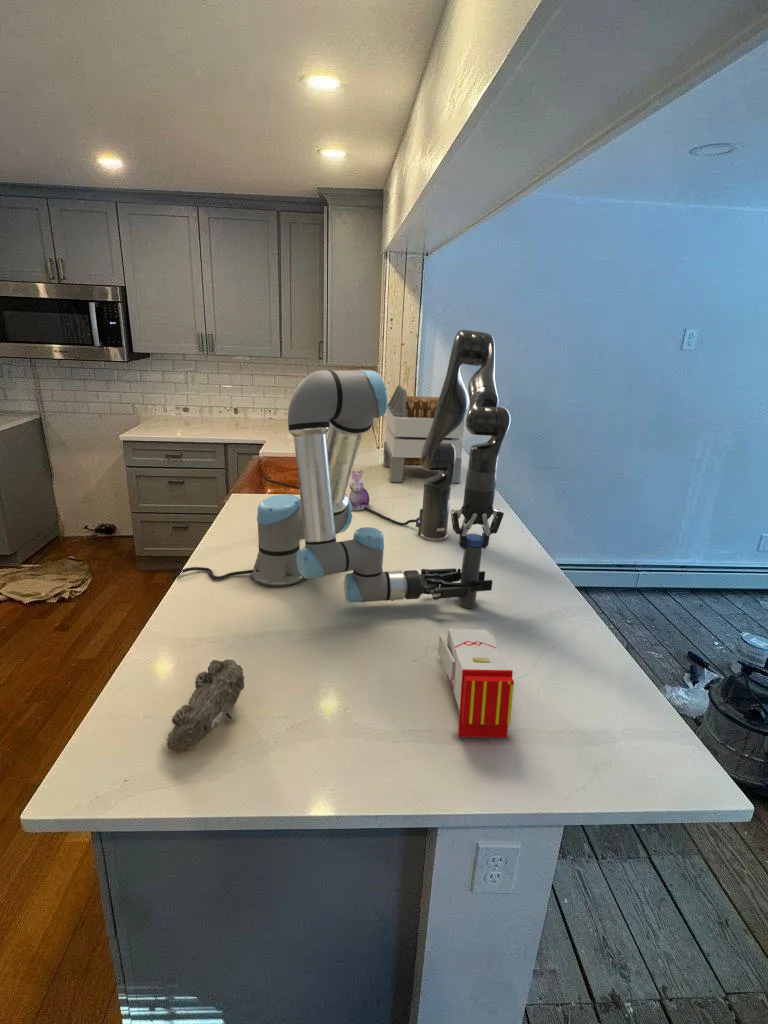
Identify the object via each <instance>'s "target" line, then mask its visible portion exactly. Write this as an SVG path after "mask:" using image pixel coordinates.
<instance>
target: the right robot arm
mask: <svg viewBox="0 0 768 1024" xmlns="http://www.w3.org/2000/svg"><path fill="white" fill-rule="evenodd" d="M495 345H496V344H495V340H494V337H493V335H491V334H490V333H488V332H485V331H484V332H483V331H477V330H472V329H471V330H470V329H460V330H458V331H457V333H456V334H455V336H454V339H453V343H452V347H451V352H450V356H449V360H448V366H447V370H446V374H445V379H444V382H443V385H442V387H443V388H442V387H441V391H440V394H439V396H438V397H439V400H438V403H437V407H436V411H435V415H434V419H433V422H432V426H431V429H430V431H429V434H428V436H427V439H426V441H425V444H424V446H423V449H422V453H421V465H422V466H421V467H422V469H423V470H424V471H428V472H438V473H436V474H435V475H433V476H431V477H428V478H427V479H425V480H424V482H423V493H422V496H423V497H422V506H421V508H420V509H419V516H418V517H416V518H415V519H409V520H407V521H405V522H400V521H396V520H394V519H392V518H390V517H388V516H385V515H384V514H381V513H379V512H377V511H375V510H373V509H371V508H370V507H368V508H367V507H364V510H365V511H367V512H370V513H372V514H374V515H376V516H378V517H380V518H381V519H384V520H386V521H388V522H390V523H393V524H395V525H398V526H407V525H408V524H410V523H415V527H416V528H418V530H417V535H418V536H420V538H421V539H424V540H426V541H432V542H440V541H444V540H446V539H447V538H448V525H449V517H451V519H450V520H451V526H452V530H453V532H454V533H455V535H458V536H459V537H458V545H459V547H460V548H461V549H462V550H464V549H466V540H467V536H466V534H468V532H469V530H470V529H471V528H472V526H473V525H475V526H476V525H481V529H482V533H481V536H483V537H484V543H483V546H482V550H483V549H484V550H485V549H487V547H489V545H490V537H491V535H493V534H497V533H498V531H499V529H500V525H501V524H502V520H503V518H504V515H505V513H504V512H503V511H502V510H501V509H499V508H498V509H494V502H495V493H496V487H497V470H498V461H499V456H500V451H501V448H502V445H503V442H504V440H505V438H506V436H507V433H508V432H509V429H510V425H511V421H512V419H511V413H510V412H509V411H508V409H507V408H506V407H504V406H503V407H502V406H498V405H499V396H498V391H497V386H496V380H495V379H496V378H495V377H496V376H495V375H496V374H495V373H496V371H495V370H496V347H495ZM462 365H466V366H474V367H479V368H478V369H477V370H476V371H475V373H473V375H472V376H471V377H470V379H469V382H468V385H467V387H468V389H466V386H465V383H464V381H463V378H462V375H461V367H462ZM465 417H466V418H465ZM463 420H465V428H466V430H467V432H468V433H470V434H471V435H473V436H486V437H490V438H489V440H487V441H484V442H481V443H476V444H473V445H472V446H470V450H469V456H468V466H467V471H466V475H465V484H464V492H463V502H462V503H463V504H462V506H461V508H460V509H451V510H450V504H451V494H452V493H451V491H452V485H453V483H452V481H453V472H454V466H455V448H454V446H453V445H452V444H450V443H441V442H442V441H443V440H444V439H445V438H446V437H447V436H448V435H449V434H450V433H452V432H453V431H454V430H455V429H456V428H457V427H458V426H459V425H460V424H461V423H462V421H463ZM260 477H262V478H263V479H264V480H265V481H266V482H268V483H272V484H276V485H280V486H283V487H288V488H292V489H296V490H299V486H298V485H297V486H296V485H292V484H290V483H289V484H288V483H284V482H281V481H276V480H272V479H270V478H267V476H266V475H265V473H261V475H260ZM449 514H450V516H449ZM461 515H462V516H463V519H462V521H461V526H460V521H459V519H460V518H461ZM491 516H492V517H493V518H492V520H491V524H490V523H489V519H490V518H491Z"/></svg>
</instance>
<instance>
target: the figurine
mask: <svg viewBox="0 0 768 1024" xmlns="http://www.w3.org/2000/svg"><path fill="white" fill-rule="evenodd" d="M363 475H364V470H363V469H361V470H359V472H358V473H356V472H355V470H352V472H351V480H350V482H349V489H350V492H349V494H348V498H349V500H350V502H351V505H352V511H363V510H365V509H364V507H367V508H369V505H370V495H369V491H367V489H365V484H364V482H363Z"/></svg>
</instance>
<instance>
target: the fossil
mask: <svg viewBox="0 0 768 1024" xmlns="http://www.w3.org/2000/svg"><path fill="white" fill-rule="evenodd" d="M243 670H244V669H243V667H242V665H240V664H237V662H236V661H235V660H234V659H232V658H231V659H227V658H226V659H224V660H223V661H222V660H217V659H212V660H211V661H210V663H209V665H208V666H207V671H201V672H199V673H198V674H197V675H196V676H195V680H194V684H195V685H194V687H195V689H194V690H193V693H192V694H191V697H190V698H189V700H188V704H184V705H182V706H181V707H180V709H177V710H176V711H175V713H174V715H173V716H172V718H171V723H172V724H173V727H172V730H171V731H170V732H168V734H167V738H166V741H167V742H166V745H167V749H168V750H169V751H173V752H174V753H176V754H178V753H182V752H188V751H189V752H192V751H193V750H195V748H196V747H197V746H199V744H200V743H201V742H203V741H204V740H205V739H206V738H207V737H208V736H209V735H210V734H211V733H212V732H214V730H215V729H217V727H218V726H219V724H220V722H221V721H222V720H223V719H224V718H225V716H226V717H227V719H229V720H233V717H232V715H230V714H229V710H230V709H231V708H234V706H235V704H236V703H237V702H238V699H239V697H240V695H241V693H242V691H243V690H245V689H244V688H245V675H244V671H243Z"/></svg>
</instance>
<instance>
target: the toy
mask: <svg viewBox="0 0 768 1024" xmlns="http://www.w3.org/2000/svg"><path fill="white" fill-rule="evenodd" d="M446 640H447V643H446V641H445V639H444V636H443V635H442V634H439V637H438V646H437V656H438V657H439V659H440V661H441V663H442V666H443V668H444V670H445V672H446V674H447V677H448V679H449V681H450V684H451V687H452V690H453V693H454V697H455V701H456V705H457V708H458V711H459V714H458V715H459V716H458V730H457V731H458V732H457V737H458V738H508V731H509V726H510V725H511V717H512V707H513V697H514V696H513V695H514V684H515V680H514V679H513V673H514V671H513V670H512V669H508V667H507V665H506V662H505V661H504V659H503V658H502V655H501V653H500V651H499V649H498V647H497V643H496V639H495V637H494V635H493V634H491V632H490V631H489V629H467V628H466V629H465V628H463V629H461V628H460V629H459V628H448V630H447V639H446Z"/></svg>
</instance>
